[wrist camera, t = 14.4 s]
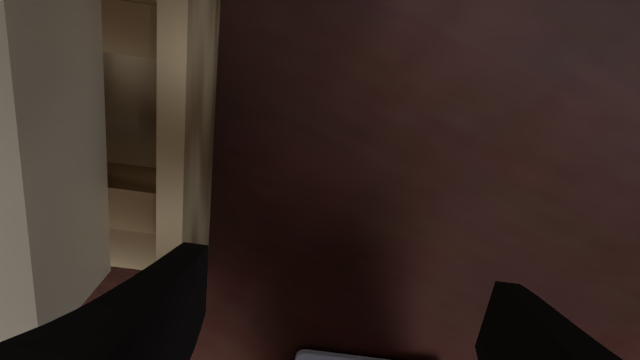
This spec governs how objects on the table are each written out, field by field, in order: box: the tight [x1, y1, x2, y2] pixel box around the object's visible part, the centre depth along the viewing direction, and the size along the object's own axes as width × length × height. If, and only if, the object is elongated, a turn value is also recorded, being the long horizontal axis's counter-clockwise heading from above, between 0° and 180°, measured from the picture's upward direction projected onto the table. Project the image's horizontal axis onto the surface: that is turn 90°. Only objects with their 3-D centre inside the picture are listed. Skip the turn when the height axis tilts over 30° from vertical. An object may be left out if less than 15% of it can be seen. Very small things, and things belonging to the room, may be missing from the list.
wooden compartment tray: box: [101, 0, 221, 270], centre depth 19 cm, size 16×10×4 cm, turn 173°
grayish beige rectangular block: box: [0, 0, 111, 342], centre depth 15 cm, size 13×4×5 cm, turn 173°
